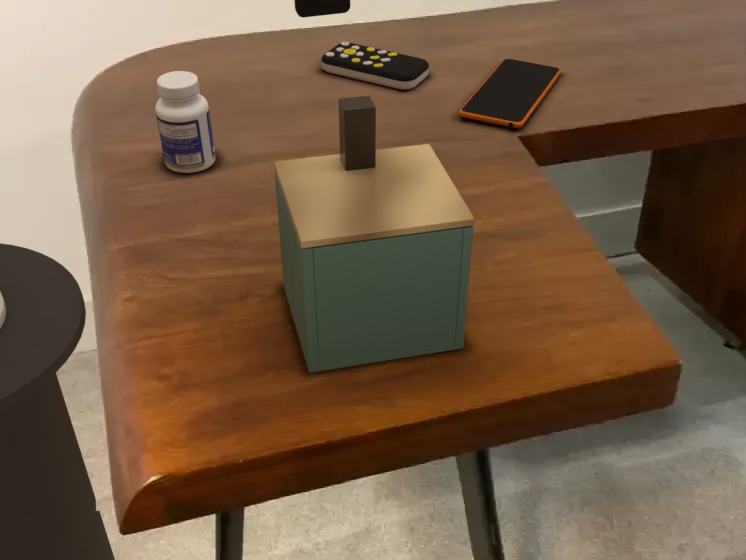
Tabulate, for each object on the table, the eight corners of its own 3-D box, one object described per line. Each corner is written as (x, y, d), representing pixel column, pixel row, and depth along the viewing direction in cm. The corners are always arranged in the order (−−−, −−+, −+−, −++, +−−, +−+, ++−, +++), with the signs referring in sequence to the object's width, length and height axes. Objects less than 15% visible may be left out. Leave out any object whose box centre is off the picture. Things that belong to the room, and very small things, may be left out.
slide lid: (301, 248, 63) (296, 177, 60) (274, 168, 71) (268, 100, 68) (474, 225, 66) (480, 155, 62) (429, 150, 74) (431, 83, 70)
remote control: (410, 93, 107) (410, 77, 106) (317, 71, 112) (316, 55, 110) (433, 74, 111) (433, 58, 110) (342, 53, 116) (341, 37, 114)
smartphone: (562, 73, 112) (563, 66, 111) (520, 131, 100) (521, 124, 100) (503, 62, 114) (503, 55, 113) (456, 118, 103) (456, 110, 102)
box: (309, 373, 71) (301, 250, 63) (283, 287, 79) (274, 169, 72) (463, 348, 73) (474, 227, 66) (423, 267, 82) (428, 151, 74)
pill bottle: (185, 145, 98) (172, 63, 92) (225, 156, 96) (215, 74, 90) (154, 167, 94) (138, 83, 88) (195, 179, 93) (183, 94, 87)
